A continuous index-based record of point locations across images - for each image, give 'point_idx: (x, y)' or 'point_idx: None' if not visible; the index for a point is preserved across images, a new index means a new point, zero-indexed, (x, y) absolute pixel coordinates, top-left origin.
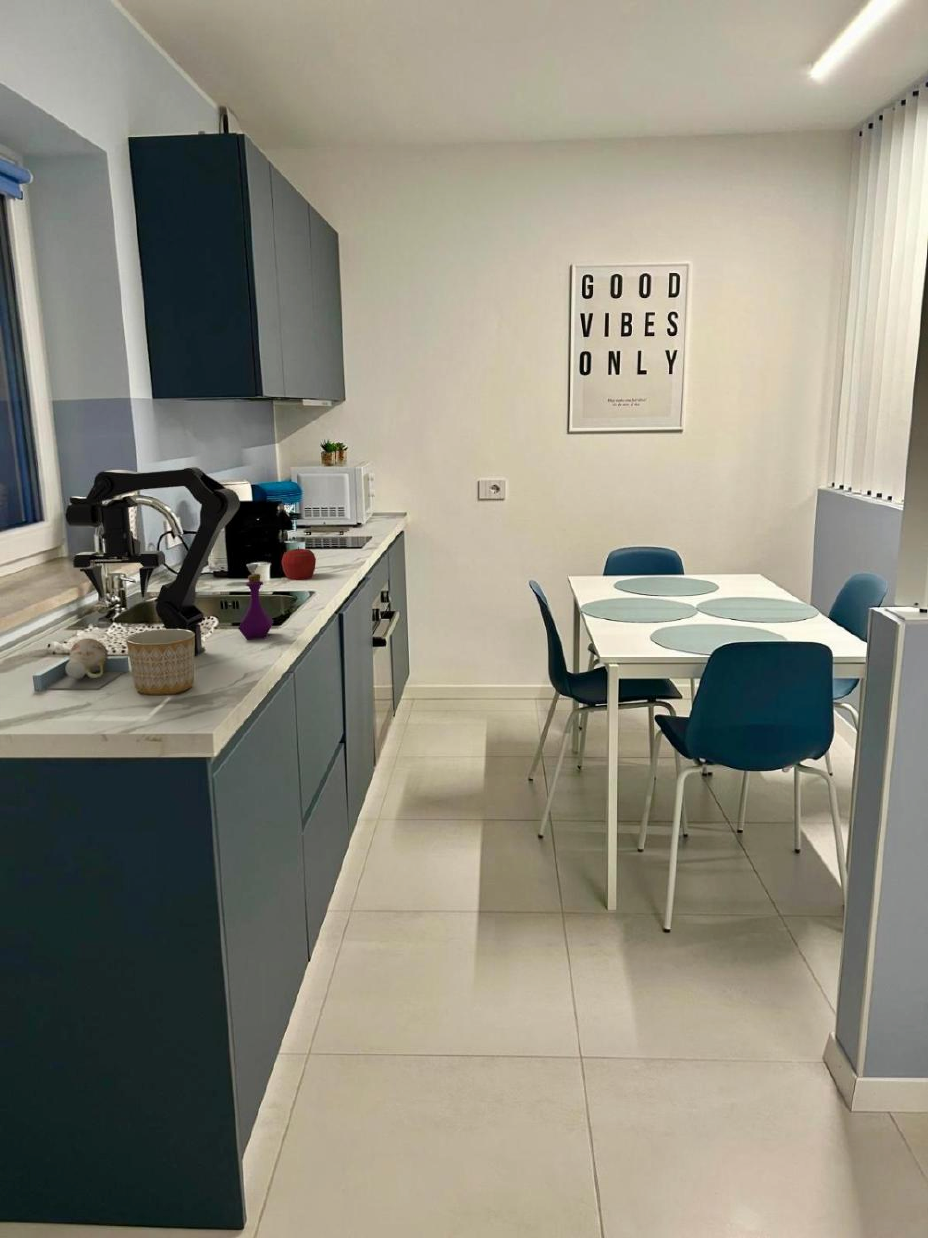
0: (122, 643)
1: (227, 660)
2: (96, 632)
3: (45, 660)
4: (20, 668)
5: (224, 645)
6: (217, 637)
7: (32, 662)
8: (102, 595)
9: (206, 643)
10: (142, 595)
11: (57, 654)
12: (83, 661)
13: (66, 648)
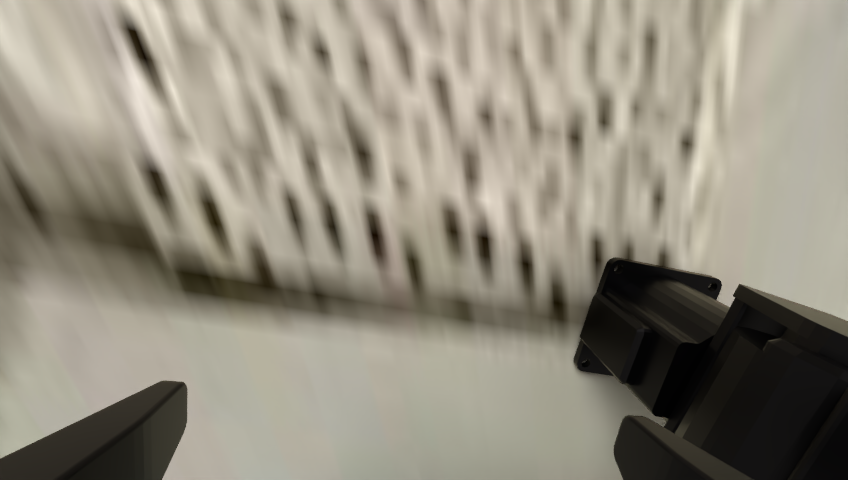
0: (331, 54)
1: None
2: None
3: (57, 336)
4: (11, 443)
5: (797, 211)
6: (795, 31)
7: (10, 360)
8: (173, 439)
9: (731, 155)
10: (629, 477)
11: (60, 234)
12: None
13: (47, 108)
